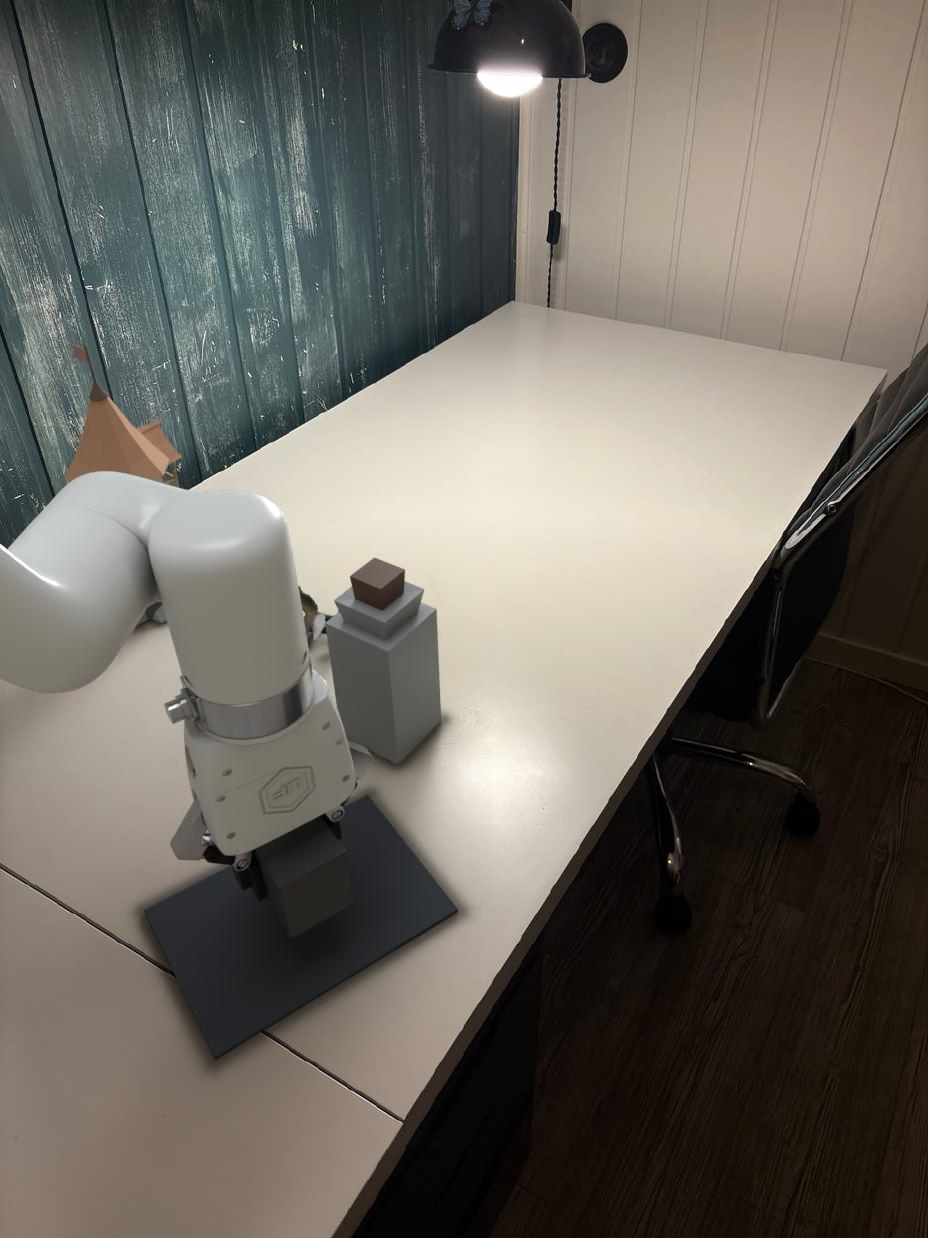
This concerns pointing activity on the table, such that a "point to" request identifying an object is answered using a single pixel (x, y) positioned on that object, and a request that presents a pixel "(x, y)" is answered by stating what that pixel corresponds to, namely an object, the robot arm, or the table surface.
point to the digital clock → (305, 876)
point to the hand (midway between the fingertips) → (291, 864)
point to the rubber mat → (310, 962)
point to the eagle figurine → (313, 616)
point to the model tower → (121, 450)
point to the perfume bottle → (385, 661)
